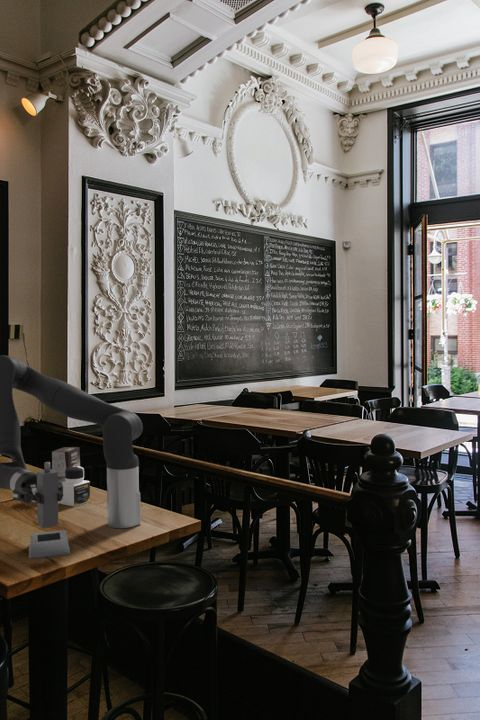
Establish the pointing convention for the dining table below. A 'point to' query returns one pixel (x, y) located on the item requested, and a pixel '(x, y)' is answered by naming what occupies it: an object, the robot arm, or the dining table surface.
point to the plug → (47, 497)
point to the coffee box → (65, 460)
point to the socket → (48, 544)
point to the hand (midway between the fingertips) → (51, 498)
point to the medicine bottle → (75, 487)
